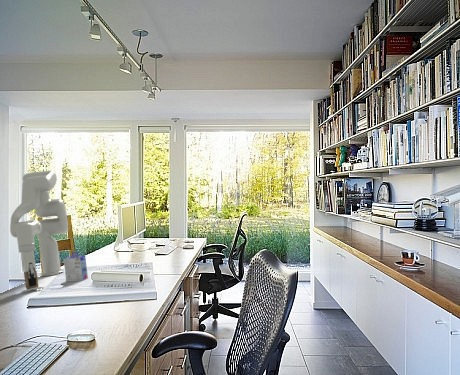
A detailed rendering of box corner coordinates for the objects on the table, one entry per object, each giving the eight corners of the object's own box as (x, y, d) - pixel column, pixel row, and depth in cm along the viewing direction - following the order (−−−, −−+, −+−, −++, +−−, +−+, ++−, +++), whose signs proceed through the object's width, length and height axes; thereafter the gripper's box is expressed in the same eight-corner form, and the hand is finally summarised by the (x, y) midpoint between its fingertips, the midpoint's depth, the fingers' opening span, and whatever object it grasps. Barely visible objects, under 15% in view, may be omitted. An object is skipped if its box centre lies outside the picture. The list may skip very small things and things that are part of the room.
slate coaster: (19, 291, 225) (19, 290, 225) (41, 286, 230) (41, 286, 230) (23, 294, 217) (23, 293, 217) (45, 289, 222) (45, 289, 222)
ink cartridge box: (88, 278, 239) (85, 250, 238) (83, 280, 233) (79, 252, 233) (71, 279, 241) (68, 252, 240) (65, 282, 235) (62, 254, 235)
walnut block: (25, 287, 224) (23, 271, 224) (36, 285, 227) (34, 269, 227) (27, 289, 220) (25, 272, 220) (38, 286, 223) (36, 270, 223)
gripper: (16, 248, 228) (20, 284, 229) (21, 251, 214) (26, 289, 214) (32, 245, 232) (36, 281, 233) (38, 248, 218) (43, 285, 218)
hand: (31, 284), depth 224 cm, fingers closed on walnut block, 4 cm apart
